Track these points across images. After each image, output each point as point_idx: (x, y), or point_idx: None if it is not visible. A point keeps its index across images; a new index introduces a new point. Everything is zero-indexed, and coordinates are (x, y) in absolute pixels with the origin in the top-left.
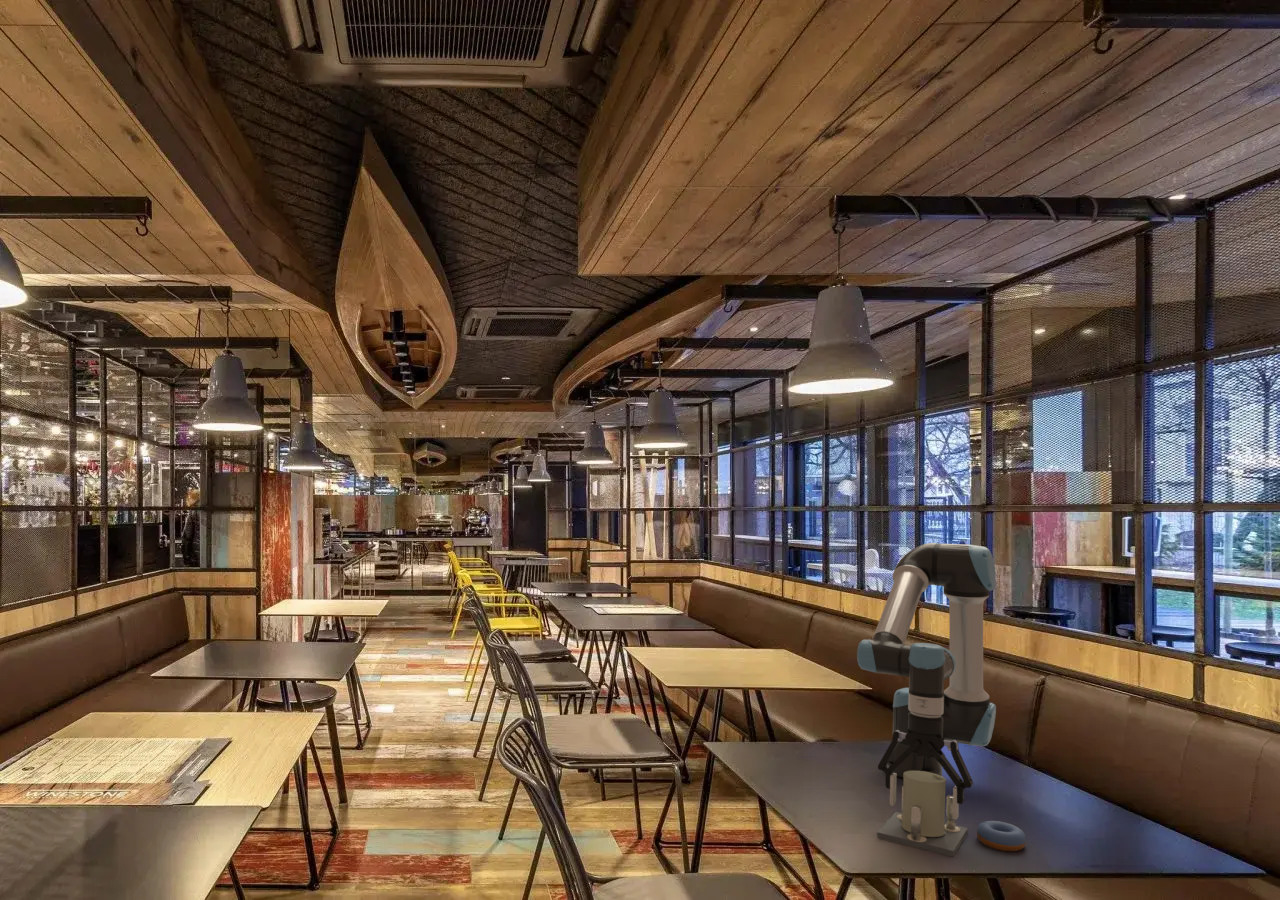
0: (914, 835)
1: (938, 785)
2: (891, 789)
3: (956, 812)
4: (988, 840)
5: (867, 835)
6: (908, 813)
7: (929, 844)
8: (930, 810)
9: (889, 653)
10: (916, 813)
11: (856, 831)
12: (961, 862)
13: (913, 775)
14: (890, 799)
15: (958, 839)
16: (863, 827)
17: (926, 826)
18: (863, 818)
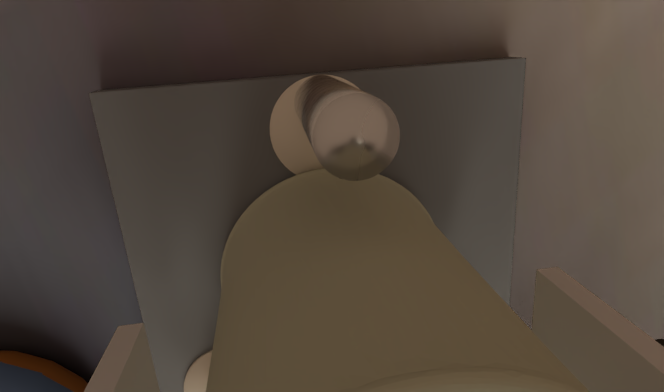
0: (324, 76)
1: None
2: (624, 327)
3: (102, 364)
4: (6, 364)
5: (558, 55)
6: (420, 218)
7: (235, 88)
8: (273, 261)
9: None
10: (335, 89)
11: (615, 69)
12: (31, 39)
13: None
14: (576, 285)
15: (144, 281)
16: (594, 150)
17: (290, 202)
18: (611, 259)
